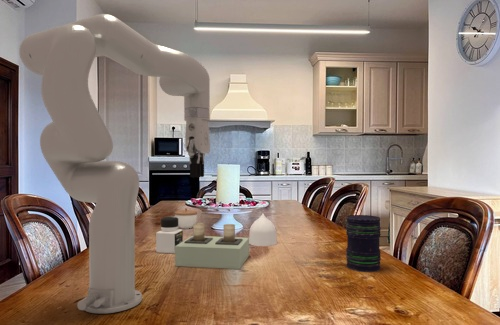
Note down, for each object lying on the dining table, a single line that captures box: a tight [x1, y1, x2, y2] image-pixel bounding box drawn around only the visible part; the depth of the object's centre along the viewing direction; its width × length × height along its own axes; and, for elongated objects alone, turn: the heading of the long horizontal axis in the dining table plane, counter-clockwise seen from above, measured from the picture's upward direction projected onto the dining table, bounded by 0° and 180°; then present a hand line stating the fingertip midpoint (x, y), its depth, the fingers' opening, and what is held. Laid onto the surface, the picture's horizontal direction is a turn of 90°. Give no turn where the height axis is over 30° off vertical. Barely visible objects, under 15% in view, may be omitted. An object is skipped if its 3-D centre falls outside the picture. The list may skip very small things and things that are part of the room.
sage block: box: [174, 235, 250, 270], centre depth 117 cm, size 16×20×6 cm
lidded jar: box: [174, 207, 198, 230], centre depth 176 cm, size 11×11×9 cm
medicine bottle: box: [155, 216, 184, 254], centre depth 130 cm, size 7×7×12 cm
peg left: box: [192, 222, 206, 242], centre depth 118 cm, size 4×4×6 cm
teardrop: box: [248, 212, 278, 247], centre depth 142 cm, size 11×11×12 cm
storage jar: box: [345, 214, 382, 273], centre depth 109 cm, size 10×10×15 cm
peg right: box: [223, 223, 236, 243], centre depth 116 cm, size 4×4×6 cm
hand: (197, 176), depth 109 cm, fingers closed
